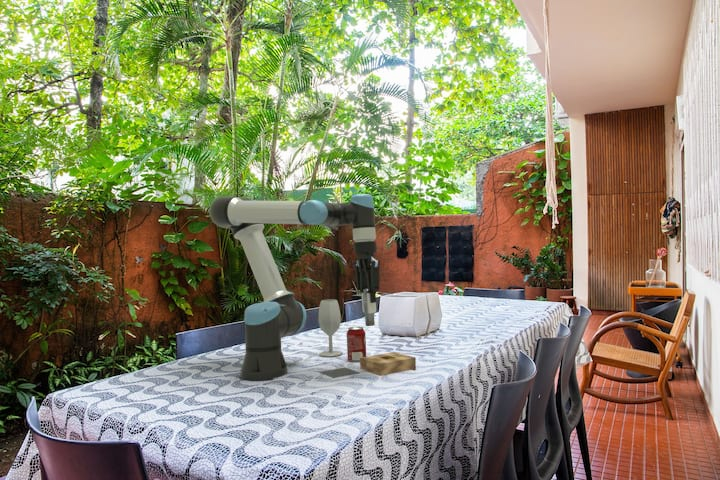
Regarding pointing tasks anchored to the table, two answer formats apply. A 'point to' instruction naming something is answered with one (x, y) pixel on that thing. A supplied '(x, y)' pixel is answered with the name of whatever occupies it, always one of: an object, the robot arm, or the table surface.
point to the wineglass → (329, 323)
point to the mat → (339, 372)
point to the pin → (368, 316)
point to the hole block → (387, 363)
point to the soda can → (356, 344)
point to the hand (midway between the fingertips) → (369, 312)
